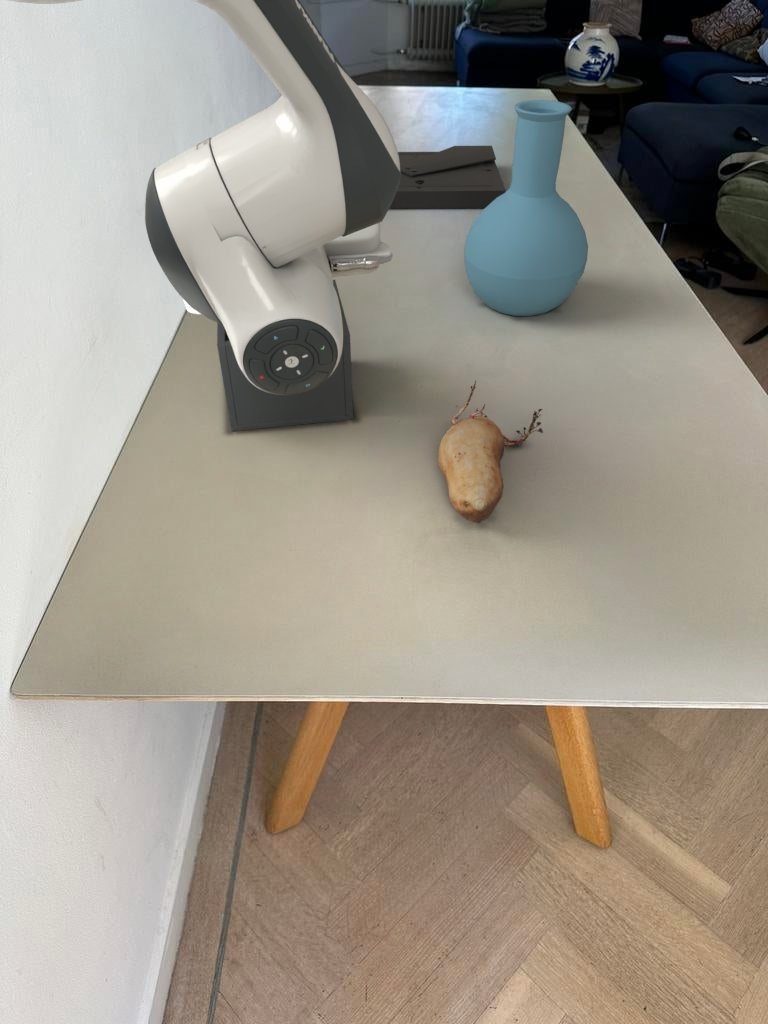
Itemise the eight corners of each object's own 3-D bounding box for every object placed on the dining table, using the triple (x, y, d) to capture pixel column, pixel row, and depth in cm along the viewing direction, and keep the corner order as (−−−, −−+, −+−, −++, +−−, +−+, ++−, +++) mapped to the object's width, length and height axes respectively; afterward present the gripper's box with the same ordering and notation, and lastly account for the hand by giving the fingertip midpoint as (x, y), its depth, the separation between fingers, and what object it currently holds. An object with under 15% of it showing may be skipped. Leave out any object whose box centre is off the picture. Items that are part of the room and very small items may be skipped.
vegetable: (575, 518, 68) (533, 432, 63) (463, 558, 72) (415, 480, 67) (554, 426, 81) (518, 348, 75) (460, 464, 84) (419, 392, 79)
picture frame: (490, 167, 153) (349, 168, 154) (491, 145, 151) (348, 146, 151) (504, 208, 136) (345, 209, 136) (506, 183, 133) (344, 184, 133)
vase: (476, 332, 101) (493, 128, 84) (449, 280, 113) (460, 92, 97) (595, 323, 103) (635, 121, 86) (556, 272, 115) (584, 87, 99)
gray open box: (231, 431, 84) (216, 345, 77) (230, 369, 94) (217, 287, 87) (353, 419, 85) (350, 334, 79) (339, 359, 96) (335, 279, 89)
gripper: (396, 228, 66) (372, 177, 76) (154, 245, 63) (164, 190, 74) (396, 296, 70) (373, 239, 80) (169, 314, 68) (176, 254, 78)
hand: (271, 216), depth 77 cm, fingers closed on chocolate box, 4 cm apart
